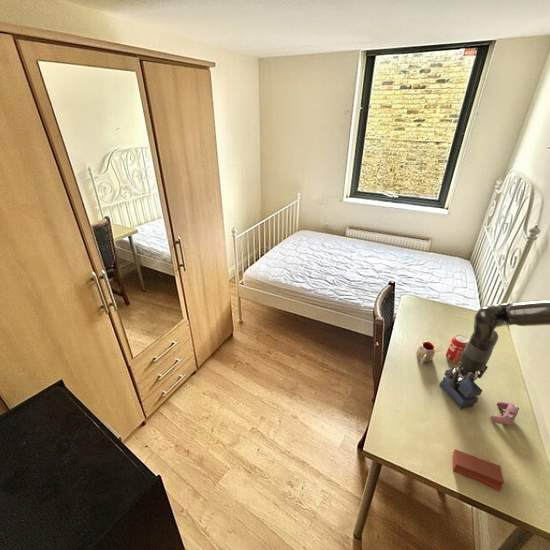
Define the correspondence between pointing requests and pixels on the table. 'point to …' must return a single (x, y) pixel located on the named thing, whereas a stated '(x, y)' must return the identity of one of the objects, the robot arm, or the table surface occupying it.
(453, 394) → the navy brick
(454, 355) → the beverage can
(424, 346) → the mug
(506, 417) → the pink lumpy piece
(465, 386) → the dark blue flat block
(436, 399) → the table surface
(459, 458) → the red brick
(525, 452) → the table surface
